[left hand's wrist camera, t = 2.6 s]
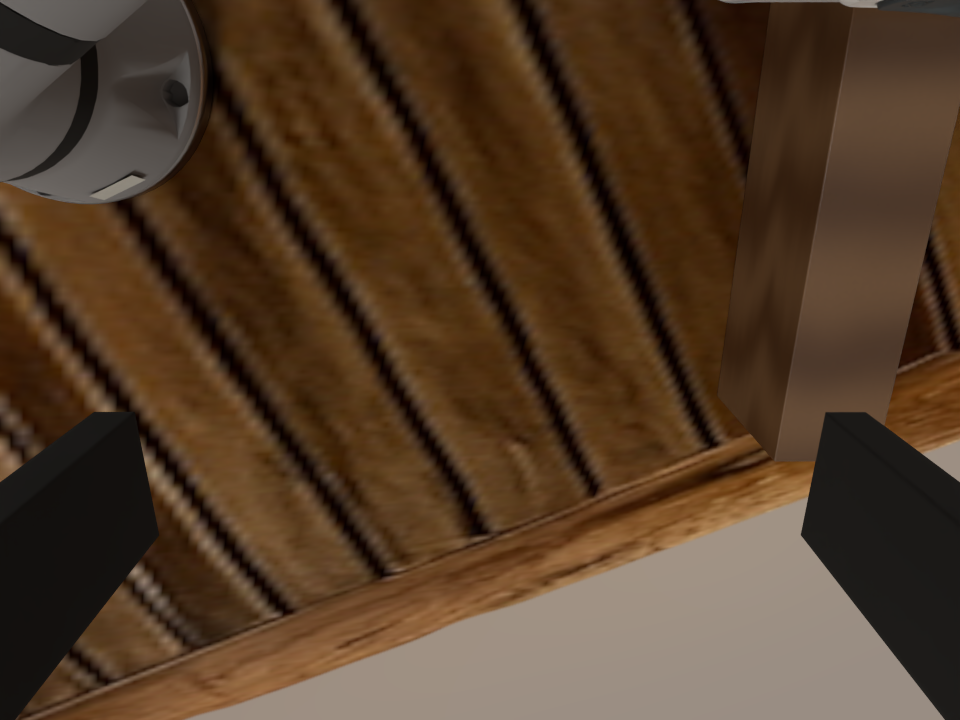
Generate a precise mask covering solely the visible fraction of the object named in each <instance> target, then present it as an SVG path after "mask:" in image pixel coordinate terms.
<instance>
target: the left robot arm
mask: <svg viewBox="0 0 960 720" xmlns="http://www.w3.org/2000/svg"><path fill="white" fill-rule="evenodd" d="M212 95H213V71H212V62H211V55H210V50H209V45H208V41H207V38H206V35H205V31H204V28H203V25H202V23H201V20H200V18H199V15H198V13H197V11H196V9H195V7H194V5H193V3H192V1H191V0H0V182H5V183H8V184H11V185H13V186H15V187H18V188H20V189H22V190H25V191H27V192H29V193H33V194H36V195H39V196H42V197H45V198H49V199H53V200H58V201H63V202H68V203H77V204H101V203H109V202H114V201H119V200H124V199H128V198H133V197H136V196H139V195H142V194H145V193H147V192H149V191H152V190H154V189H156V188H157V187H159V186H161V185H163V184H164V183H165V182H167V181H168V180H169V179H171V178H172V177H173V176H175V175H176V174H177V173H178V172H179V171H180V170H181V169H182V168H183V167H184V165H185V164H186V163H187V162H188V161H189V159H190V158H191V156H192V155H193V153H194V152H195V150H196V149H197V147H198V145H199V143H200V141H201V139H202V137H203V134H204V132H205V129H206V126H207V123H208V119H209V115H210V110H211V104H212ZM158 536H159V532H158V527H157V522H156V517H155V512H154V507H153V502H152V497H151V492H150V487H149V482H148V477H147V472H146V467H145V462H144V457H143V452H142V447H141V442H140V437H139V432H138V427H137V422H136V417H135V412H94V413H92V414H91V415H90V416H88V417H87V418H86V419H84V420H83V421H82V422H80V423H79V424H78V425H76V426H75V427H74V428H72V429H71V430H70V431H68V432H67V433H66V434H64V435H63V436H62V437H60V438H59V439H58V440H56V441H55V442H54V443H52V444H51V445H50V446H48V447H47V448H45V449H44V450H43V451H41V452H40V453H39V454H37V455H36V456H35V457H33V458H32V459H31V460H29V461H28V462H27V463H25V464H24V465H23V466H21V467H20V468H19V469H17V470H16V471H15V472H13V473H12V474H11V475H9V476H8V477H7V478H5V479H4V480H3V481H1V482H0V720H15V719H16V718H17V717H18V715H19V714H20V713H21V711H22V710H23V709H24V708H25V706H26V705H27V704H28V702H29V701H30V700H31V699H32V697H33V696H34V695H35V694H36V692H37V691H38V690H39V688H40V687H41V686H42V685H43V683H44V682H45V681H46V679H47V678H48V677H49V676H50V674H51V673H52V672H53V670H54V669H55V668H56V667H57V665H58V664H59V663H60V661H61V660H62V659H63V658H64V656H65V655H66V654H67V652H68V651H69V650H70V649H71V647H72V646H73V645H74V644H75V642H76V641H77V640H78V638H79V637H80V636H81V635H82V633H83V632H84V631H85V629H86V628H87V627H88V626H89V624H90V623H91V622H92V620H93V619H94V618H95V617H96V615H97V614H98V613H99V611H100V610H101V609H102V608H103V606H104V605H105V604H106V602H107V601H108V600H109V599H110V597H111V596H112V595H113V594H114V592H115V591H116V590H117V588H118V587H119V586H120V585H121V583H122V582H123V581H124V579H125V578H126V577H127V576H128V574H129V573H130V572H131V570H132V569H133V568H134V567H135V565H136V564H137V563H138V561H139V560H140V559H141V558H142V556H143V555H144V554H145V552H146V551H147V550H148V549H149V547H150V546H151V545H152V544H153V542H154V541H155V540H156V538H157V537H158ZM801 536H802V537H803V538H804V540H805V541H806V542H807V544H808V545H809V546H810V547H811V549H812V550H813V551H814V552H815V554H816V555H817V556H818V558H819V559H820V560H821V561H822V563H823V564H824V565H825V567H826V568H827V569H828V570H829V572H830V573H831V574H832V576H833V577H834V578H835V579H836V581H837V582H838V583H839V585H840V586H841V587H842V588H843V590H844V591H845V592H846V594H847V595H848V596H849V597H850V599H851V600H852V601H853V602H854V604H855V605H856V606H857V608H858V609H859V610H860V611H861V613H862V614H863V615H864V617H865V618H866V619H867V620H868V622H869V623H870V624H871V626H872V627H873V628H874V629H875V631H876V632H877V633H878V635H879V636H880V637H881V638H882V640H883V641H884V642H885V644H886V645H887V646H888V647H889V649H890V650H891V651H892V652H893V654H894V655H895V656H896V658H897V659H898V660H899V661H900V663H901V664H902V665H903V667H904V668H905V669H906V670H907V672H908V673H909V674H910V676H911V677H912V678H913V679H914V681H915V682H916V683H917V685H918V686H919V687H920V688H921V690H922V691H923V692H924V693H925V695H926V696H927V697H928V699H929V700H930V701H931V702H932V704H933V705H934V706H935V708H936V709H937V710H938V711H939V713H940V714H941V715H942V716H943V718H944V719H945V720H960V482H959V481H957V480H956V479H955V478H953V477H952V476H951V475H949V474H948V473H947V472H945V471H944V470H943V469H941V468H940V467H939V466H937V465H936V464H935V463H933V462H932V461H931V460H929V459H928V458H927V457H925V456H924V455H923V454H921V453H920V452H919V451H917V450H916V449H915V448H913V447H912V446H910V445H909V444H908V443H906V442H905V441H904V440H902V439H901V438H900V437H898V436H897V435H896V434H894V433H893V432H892V431H890V430H889V429H888V428H886V427H885V426H884V425H882V424H881V423H880V422H878V421H877V420H876V419H874V418H873V417H872V416H870V415H869V414H868V413H866V412H825V417H824V422H823V427H822V432H821V437H820V442H819V447H818V452H817V457H816V462H815V467H814V472H813V477H812V482H811V487H810V492H809V497H808V502H807V507H806V512H805V517H804V522H803V527H802V532H801Z"/></svg>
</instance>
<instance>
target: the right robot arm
mask: <svg viewBox="0 0 960 720" xmlns="http://www.w3.org/2000/svg"><path fill="white" fill-rule="evenodd" d="M720 1H723V2H727V3H747V2H840V3H842V4H843V5H845V6H849V7H861V8H878V10H882V11H899V12H915V13H928V14H937V15H945V16H951V17H960V0H720Z"/></svg>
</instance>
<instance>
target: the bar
mask: <svg viewBox="0 0 960 720" xmlns="http://www.w3.org/2000/svg"><path fill="white" fill-rule="evenodd" d="M959 106H960V17H951V16H945V15H937V14H928V13H915V12H899V11H882V10H878V8H861V7H849V6H845V5H843V4H842V3H840V2H771V5H770V12H769V19H768V27H767V34H766V41H765V49H764V56H763V63H762V71H761V78H760V85H759V93H758V100H757V107H756V115H755V122H754V130H753V137H752V144H751V152H750V159H749V166H748V174H747V181H746V188H745V196H744V203H743V210H742V218H741V225H740V232H739V240H738V247H737V254H736V262H735V269H734V276H733V284H732V291H731V298H730V306H729V313H728V320H727V328H726V335H725V343H724V350H723V357H722V365H721V372H720V379H719V387H718V394H717V396H718V397H719V398H720V399H721V401H722V402H723V403H724V404H725V405H726V406H727V407H728V409H729V410H730V411H731V412H732V413H733V414H734V415H735V417H736V418H737V419H738V420H739V421H740V422H741V423H742V425H743V426H744V427H745V428H746V429H747V430H748V431H749V433H750V434H751V435H752V436H753V437H754V438H755V439H756V441H757V442H758V443H759V444H760V445H761V446H762V447H763V449H764V450H765V451H766V452H767V453H768V454H769V456H770V457H771V458H772V459H773V460H774V461H816V457H817V452H818V447H819V442H820V437H821V432H822V427H823V422H824V417H825V412H866V413H868V414H869V415H870V416H872V417H873V418H874V419H876V420H877V421H878V422H880V423H881V424H882V425H884V424H885V420H886V416H887V411H888V407H889V403H890V399H891V394H892V390H893V386H894V382H895V377H896V373H897V369H898V365H899V360H900V356H901V352H902V348H903V344H904V339H905V335H906V331H907V327H908V322H909V318H910V314H911V310H912V305H913V301H914V297H915V293H916V288H917V284H918V280H919V276H920V271H921V267H922V263H923V259H924V255H925V250H926V246H927V242H928V238H929V233H930V229H931V225H932V221H933V216H934V212H935V208H936V204H937V199H938V195H939V191H940V187H941V182H942V178H943V174H944V170H945V166H946V161H947V157H948V153H949V149H950V144H951V140H952V136H953V132H954V127H955V123H956V119H957V115H958V110H959Z"/></svg>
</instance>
